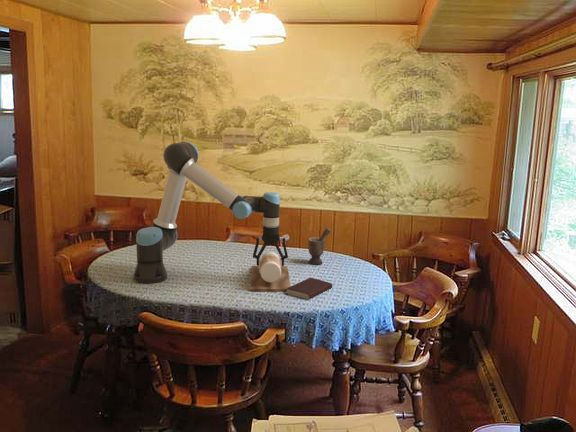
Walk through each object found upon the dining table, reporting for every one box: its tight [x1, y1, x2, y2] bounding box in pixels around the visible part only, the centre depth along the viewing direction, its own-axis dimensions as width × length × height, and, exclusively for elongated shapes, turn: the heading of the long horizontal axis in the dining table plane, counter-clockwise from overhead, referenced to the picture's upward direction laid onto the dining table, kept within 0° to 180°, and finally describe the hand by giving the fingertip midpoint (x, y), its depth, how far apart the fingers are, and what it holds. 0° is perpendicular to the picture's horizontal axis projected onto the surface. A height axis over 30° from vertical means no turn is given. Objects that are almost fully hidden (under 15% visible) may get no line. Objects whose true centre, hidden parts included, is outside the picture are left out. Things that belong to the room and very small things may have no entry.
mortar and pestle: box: [307, 227, 332, 266], centre depth 279 cm, size 12×9×20 cm
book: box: [285, 277, 333, 300], centre depth 238 cm, size 12×19×3 cm, turn 145°
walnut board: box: [249, 265, 292, 293], centre depth 253 cm, size 18×36×1 cm, turn 3°
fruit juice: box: [260, 251, 281, 282], centre depth 251 cm, size 9×9×28 cm
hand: (270, 272), depth 253 cm, fingers closed on fruit juice, 9 cm apart
